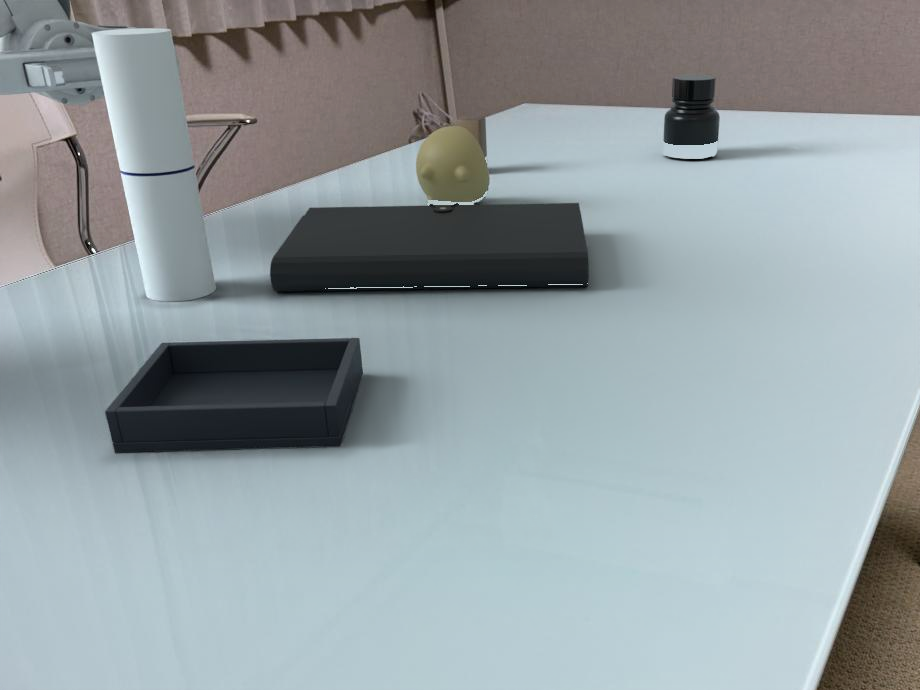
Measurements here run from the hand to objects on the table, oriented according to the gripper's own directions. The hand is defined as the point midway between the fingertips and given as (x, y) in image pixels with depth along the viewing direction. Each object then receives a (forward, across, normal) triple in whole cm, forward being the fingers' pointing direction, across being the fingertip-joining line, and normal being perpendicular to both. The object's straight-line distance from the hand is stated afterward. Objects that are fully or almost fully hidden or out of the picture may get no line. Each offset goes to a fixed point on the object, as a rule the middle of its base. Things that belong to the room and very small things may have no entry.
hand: (103, 72), depth 110 cm
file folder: (+20, +27, +21) cm, 40 cm away
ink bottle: (-8, +93, +21) cm, 96 cm away
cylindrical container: (+12, 0, +21) cm, 24 cm away
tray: (+47, -8, +20) cm, 52 cm away
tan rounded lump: (-1, +43, +21) cm, 48 cm away
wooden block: (-21, +59, +21) cm, 66 cm away
